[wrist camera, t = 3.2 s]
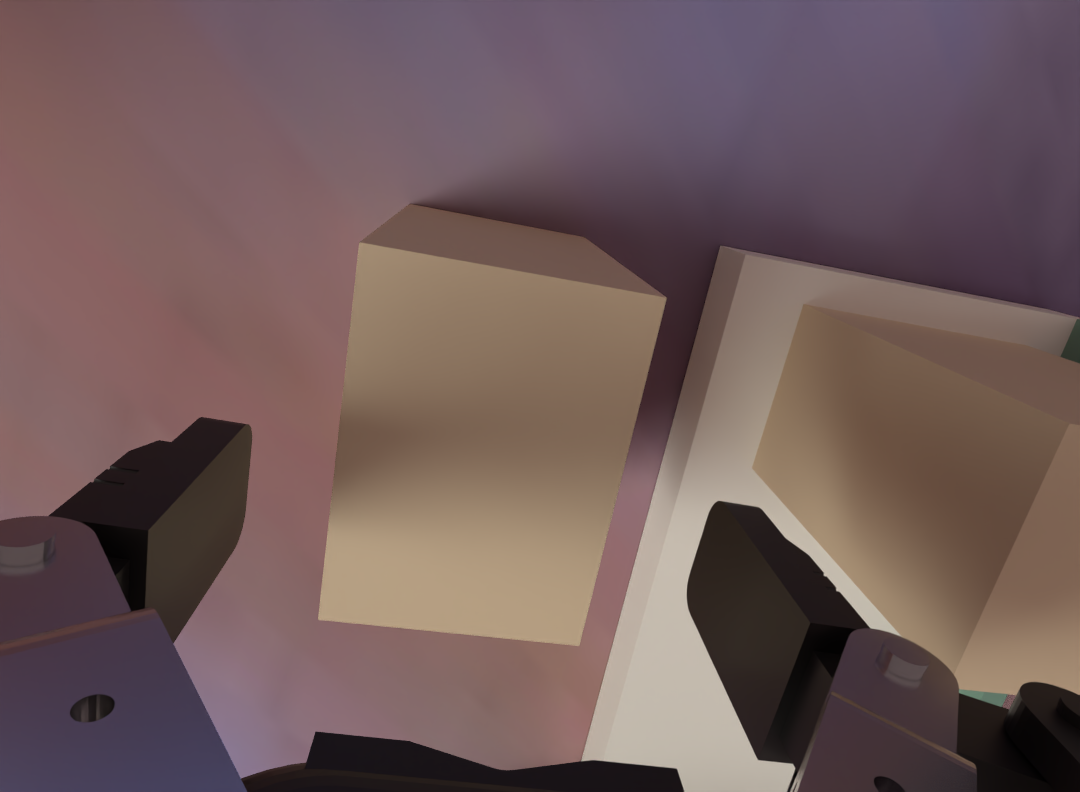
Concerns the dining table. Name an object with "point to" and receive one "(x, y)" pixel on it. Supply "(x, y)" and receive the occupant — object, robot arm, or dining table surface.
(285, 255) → the dining table surface
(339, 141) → the dining table surface
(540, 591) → the carton
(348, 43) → the dining table surface
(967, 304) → the white flat slab
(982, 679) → the faced carton
